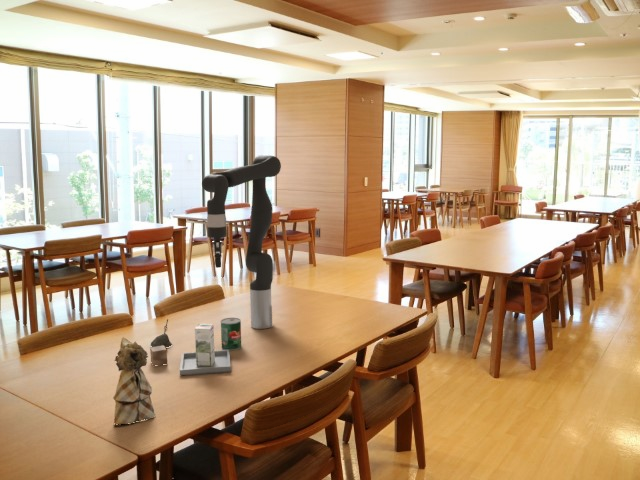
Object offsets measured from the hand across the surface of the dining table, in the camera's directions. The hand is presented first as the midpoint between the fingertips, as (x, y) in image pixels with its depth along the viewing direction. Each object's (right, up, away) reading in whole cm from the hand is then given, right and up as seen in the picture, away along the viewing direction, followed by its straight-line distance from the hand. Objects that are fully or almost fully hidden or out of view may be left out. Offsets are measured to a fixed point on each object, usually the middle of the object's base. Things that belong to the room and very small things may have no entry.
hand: (218, 265), depth 238 cm
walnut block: (-19, -36, -18) cm, 44 cm away
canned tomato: (+5, -33, -1) cm, 33 cm away
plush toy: (-14, -43, -61) cm, 75 cm away
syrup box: (-1, -36, -20) cm, 41 cm away
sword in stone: (-23, -33, +1) cm, 40 cm away
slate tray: (-1, -36, -20) cm, 41 cm away
